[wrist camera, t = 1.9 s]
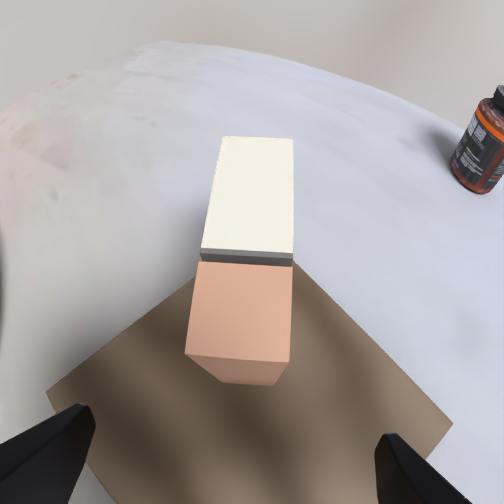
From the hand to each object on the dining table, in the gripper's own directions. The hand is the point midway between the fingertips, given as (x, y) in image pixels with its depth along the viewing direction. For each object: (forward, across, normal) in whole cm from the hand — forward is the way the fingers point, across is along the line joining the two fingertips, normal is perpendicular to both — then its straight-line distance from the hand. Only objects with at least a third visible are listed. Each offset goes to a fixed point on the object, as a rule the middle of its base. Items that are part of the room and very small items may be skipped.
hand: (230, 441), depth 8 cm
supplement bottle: (+25, -23, -8) cm, 34 cm away
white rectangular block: (+13, 0, +1) cm, 13 cm away
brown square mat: (+7, 0, +8) cm, 11 cm away
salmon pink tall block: (+10, 0, +4) cm, 11 cm away
